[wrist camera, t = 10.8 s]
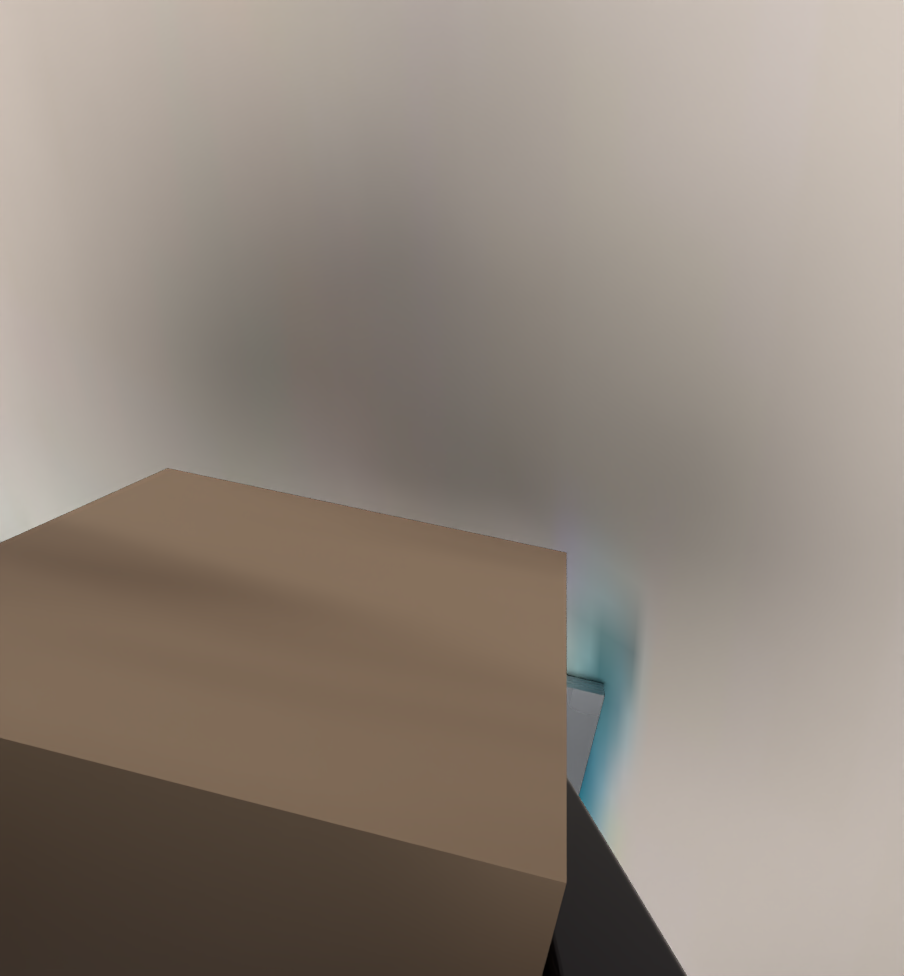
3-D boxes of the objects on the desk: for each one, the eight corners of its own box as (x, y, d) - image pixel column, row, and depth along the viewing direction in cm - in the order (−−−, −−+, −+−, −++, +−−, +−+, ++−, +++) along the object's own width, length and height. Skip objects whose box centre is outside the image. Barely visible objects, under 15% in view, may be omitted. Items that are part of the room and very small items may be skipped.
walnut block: (489, 889, 10) (419, 1439, 5) (147, 800, 10) (-203, 1227, 6) (567, 552, 9) (567, 881, 4) (167, 468, 9) (-279, 667, 4)
